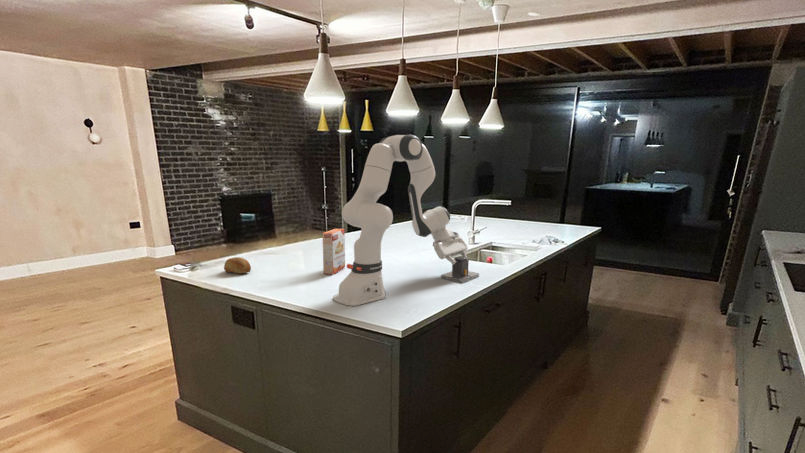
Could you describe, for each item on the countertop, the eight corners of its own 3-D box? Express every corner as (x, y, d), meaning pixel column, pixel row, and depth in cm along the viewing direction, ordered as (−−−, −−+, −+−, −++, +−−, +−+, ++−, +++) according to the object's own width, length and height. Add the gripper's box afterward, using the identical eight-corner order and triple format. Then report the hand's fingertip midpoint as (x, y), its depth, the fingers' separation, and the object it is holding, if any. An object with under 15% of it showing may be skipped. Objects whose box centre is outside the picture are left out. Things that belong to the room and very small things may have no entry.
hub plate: (462, 283, 180) (462, 269, 179) (441, 277, 188) (441, 264, 187) (478, 276, 191) (479, 263, 189) (458, 271, 199) (458, 259, 197)
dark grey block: (462, 276, 185) (463, 260, 184) (452, 274, 189) (452, 258, 188) (469, 274, 189) (469, 258, 188) (458, 271, 193) (458, 255, 192)
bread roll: (241, 277, 192) (240, 261, 191) (218, 274, 198) (217, 258, 196) (255, 272, 201) (254, 256, 199) (233, 269, 207) (232, 254, 205)
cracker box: (334, 275, 194) (332, 233, 190) (323, 274, 196) (321, 232, 192) (346, 267, 207) (345, 228, 204) (335, 266, 209) (334, 228, 205)
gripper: (434, 238, 183) (451, 262, 179) (459, 232, 198) (476, 254, 193) (427, 246, 187) (443, 270, 182) (452, 239, 202) (468, 261, 197)
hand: (460, 261), depth 188 cm, fingers open, 8 cm apart
